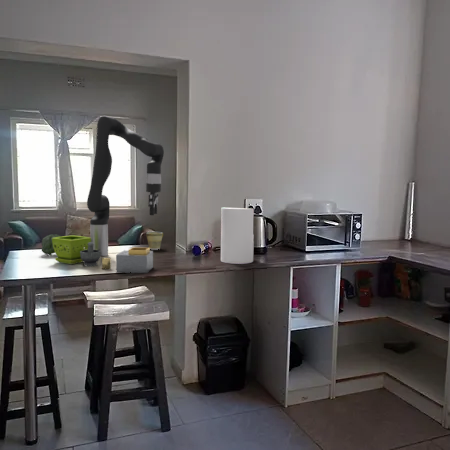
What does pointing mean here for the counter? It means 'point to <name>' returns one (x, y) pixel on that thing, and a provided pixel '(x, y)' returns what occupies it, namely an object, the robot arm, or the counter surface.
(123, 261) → the grey box
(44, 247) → the vegetable
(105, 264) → the pellet
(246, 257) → the cylinder
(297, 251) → the counter surface
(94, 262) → the mortar and pestle
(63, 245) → the flower pot
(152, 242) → the ceramic cup
